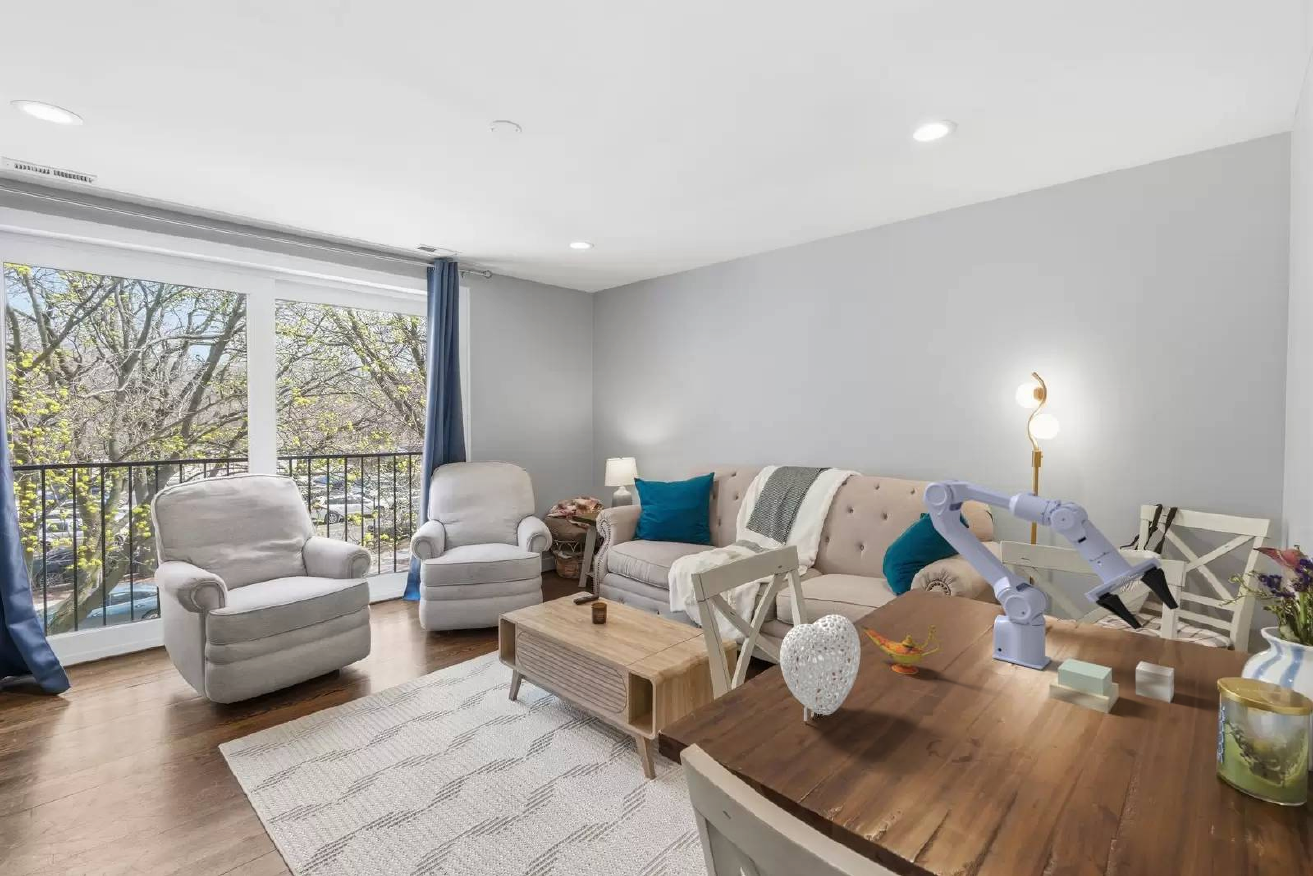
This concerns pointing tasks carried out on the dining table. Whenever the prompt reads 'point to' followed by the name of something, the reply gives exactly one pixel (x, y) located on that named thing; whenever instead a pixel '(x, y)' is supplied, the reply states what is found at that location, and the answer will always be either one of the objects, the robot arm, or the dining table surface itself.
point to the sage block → (1085, 676)
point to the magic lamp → (902, 650)
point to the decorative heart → (821, 663)
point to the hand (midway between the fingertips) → (1156, 618)
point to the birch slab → (1084, 696)
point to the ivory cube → (1155, 681)
